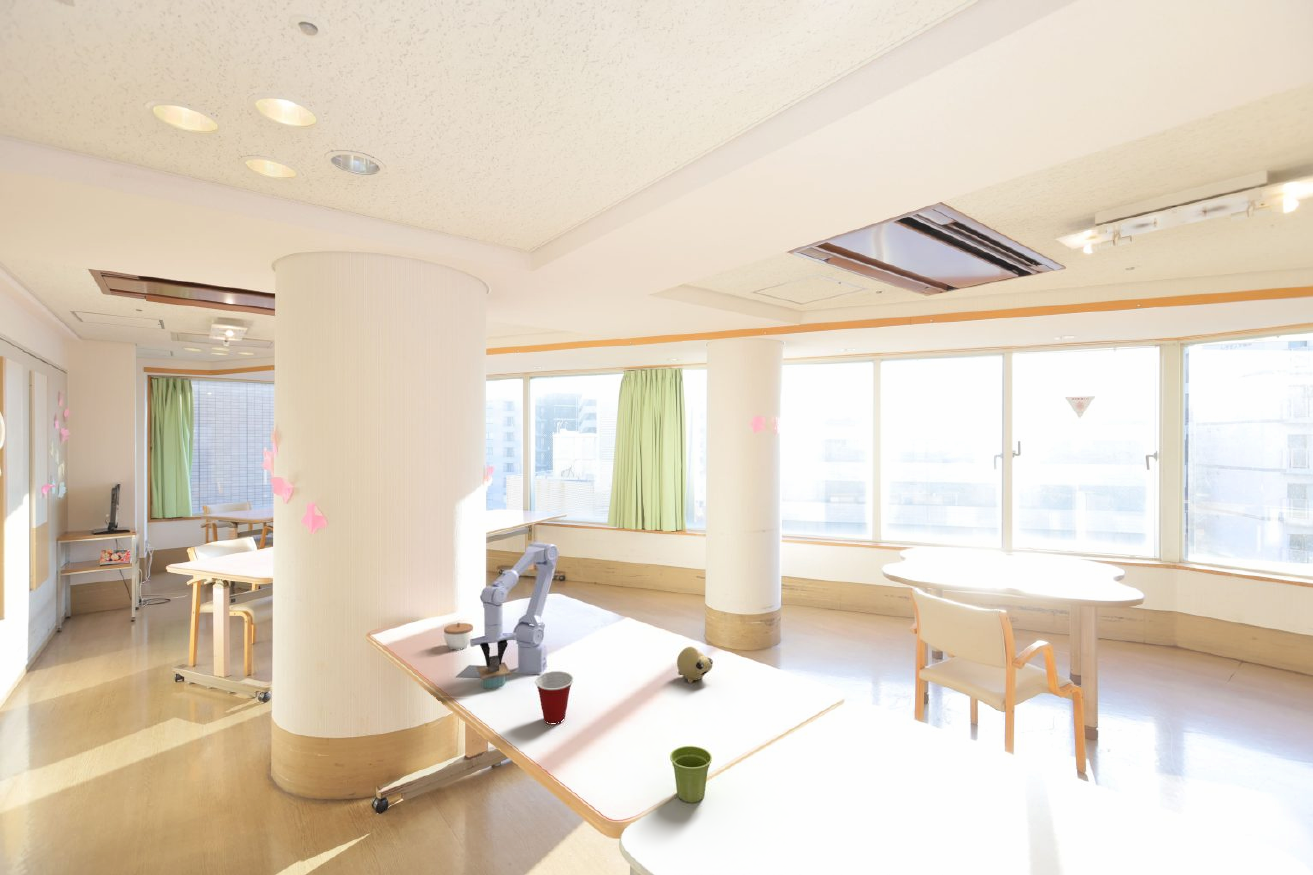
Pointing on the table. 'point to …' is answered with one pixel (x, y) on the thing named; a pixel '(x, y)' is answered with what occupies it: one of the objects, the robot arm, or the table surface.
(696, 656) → the tan toy animal
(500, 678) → the bowl
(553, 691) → the plastic cup
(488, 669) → the cover
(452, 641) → the lidded jar
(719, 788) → the table surface
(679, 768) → the plant pot
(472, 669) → the mat
